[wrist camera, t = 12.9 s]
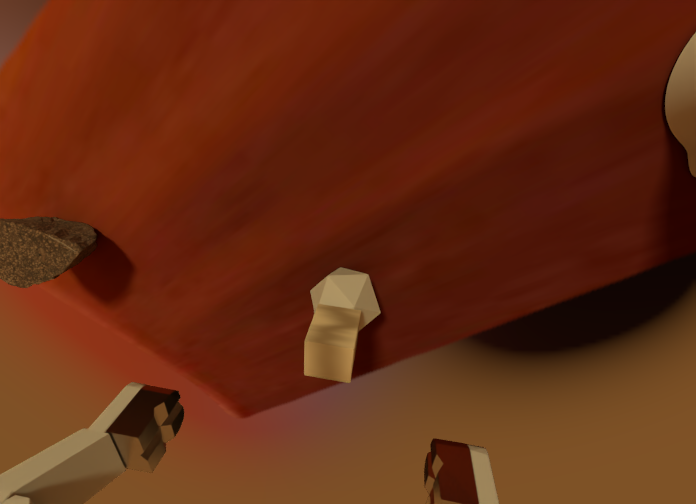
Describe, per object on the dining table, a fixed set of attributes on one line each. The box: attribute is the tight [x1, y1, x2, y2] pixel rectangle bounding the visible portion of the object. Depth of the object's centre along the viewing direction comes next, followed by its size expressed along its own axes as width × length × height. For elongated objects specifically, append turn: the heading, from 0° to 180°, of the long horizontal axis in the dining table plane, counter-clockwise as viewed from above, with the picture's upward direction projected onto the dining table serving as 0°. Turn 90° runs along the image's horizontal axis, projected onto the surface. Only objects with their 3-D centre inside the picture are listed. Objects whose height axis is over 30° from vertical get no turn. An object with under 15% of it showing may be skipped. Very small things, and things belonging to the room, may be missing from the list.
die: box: [310, 267, 381, 331], centre depth 42 cm, size 8×9×10 cm
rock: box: [0, 217, 97, 288], centre depth 45 cm, size 12×10×10 cm
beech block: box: [304, 304, 361, 383], centre depth 37 cm, size 5×5×6 cm
